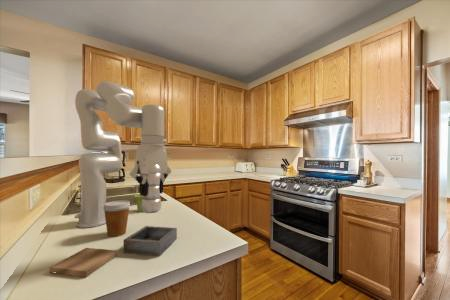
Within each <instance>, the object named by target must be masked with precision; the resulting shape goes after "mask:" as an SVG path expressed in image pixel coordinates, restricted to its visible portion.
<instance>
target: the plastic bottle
mask: <svg viewBox="0 0 450 300" xmlns="http://www.w3.org/2000/svg"><path fill="white" fill-rule="evenodd" d="M161 171H162V170H161V167H160V166H159V165H154V166H152V167H151V168H150V170H149V174H148V175H147V179H146V182H145V184H147V196H143V199H142V204H141V208H142V211H143V212H142V213H145V214H155V213H158V212H160V211H161V208H162V200H161V199H162V198H161V193H160V179H161Z"/></svg>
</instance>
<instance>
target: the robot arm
mask: <svg viewBox="0 0 450 300" xmlns="http://www.w3.org/2000/svg"><path fill="white" fill-rule="evenodd" d="M95 89H96V90H94V89H88V88H87V89H85V88H83V89H80V90H78V91H77V93H76V95H75V100H74V102H75V103H74V104H75V105H74V106H75V109H76V113H77V115H78V118H79V122H80V137H81V138H80V139H81V144H82V147H83V149H85V150H87V151H93V152H89V153H84V154H83V155H81V156H80V158H79V159H78V168H79V173H80V212H78V213H77V214H75V215H74V219H78V220H77V222H76V223H75V225H76V226H75V227H76V228H95V227H98V226H99V227H100V226H102V225H106V219H105V211H104V209H103V207H104V204H105V203H107V181H106V179H105V178H104V177H103V176H102V174H103V175H104V174H112V173H113V174H114V173H117V172H118V173H119V171H121V170H122V167H123V153H122V150H123V149H122V142H121V138H120V135H119V134H118V133H116V132H113V131H109V130H108V131H105V130H104V126H103V120H102V119H101V117H100V116H99V114H98V113H97V112H96V111H100V112H105V113H107V116H108V117H109V118H110V119H111V121H113V123H115V124H117V125H119V126H121V127H128V128H136V129H140V144H138V146H137V148H136V153H135V160H134V167H133V168H132V170H131V171H130V172H129V176H130V177H132V178H133V179H134V180H135V181H136V182H137V183H138V184H139V185H138V186H139V188H138V190H139V191H138V192H139V193H138V194H140V195H142V196H147V184H145V182H146V179H147V175H148V174H149V170H150V168H151V167H152V166H154V165H159V166H160V167H161V170H162V171H161V179H160V194H163V190H164V182H165V180H166V179H167V178H168V176H170V174H171V173H172V170H171V168H170V167H169V165H168V154H167V147H166V145H165V143H167V141H168V140H167V139H166V138H165V108H164V107H162V106H161V105H158V104H145V105H143V106H141V107H140V106H135V105H132V104H133V102H134V101H135V93H134V91H133V90H132V89H131V88H130V87H129V86H126V85H124V84H123V85H122V84H119V83H118V82H117V83H116V82H113V81H108V80H103V81H101V82H98V84H97V85H96V88H95ZM94 151H95V152H94ZM96 151H97V152H96ZM99 151H100V152H99ZM101 151H102V152H101ZM103 151H104V152H103ZM105 151H106V152H107V153H105Z"/></svg>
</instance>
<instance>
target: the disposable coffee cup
mask: <svg viewBox="0 0 450 300" xmlns="http://www.w3.org/2000/svg"><path fill="white" fill-rule="evenodd" d="M130 208H131V204H130V201H129V200H125V199H124V200H112V201H108V202H106V203H105V204H104V207H103V209H104V211H105V219H106V223H105V225H106V232H107V237H110V238H115V237H120V236H123V235H125V234H126V233H127V227H128V226H127V225H128V220H129V219H128V218H129V212H130Z"/></svg>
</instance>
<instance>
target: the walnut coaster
mask: <svg viewBox="0 0 450 300" xmlns="http://www.w3.org/2000/svg"><path fill="white" fill-rule="evenodd" d="M117 256H118V250H114V249H104V248H94V247H93V248H92V247H85V248H83V249H81V250H79V251H77V252H76V253H74V254H72V255H70V256H68V257H66V258H65V259H63V260H61V261H59V262H57V263H55V264H53V265H52V266H50V267H49V273H50V272H56V273H60V274H59V275H62V274H67V275H66V276H70V275H72V276H73V277H79V278H80V277H81V278H87V277H88V278H89V276H91V275H92V274H93V273H95V272H96V271H97V270H99V269H100V268H101V267H103V266H105V265H106V264H107V263H109V262H110V261H112V260H113V259H114V258H116V257H117ZM72 276H71V277H72Z"/></svg>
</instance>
